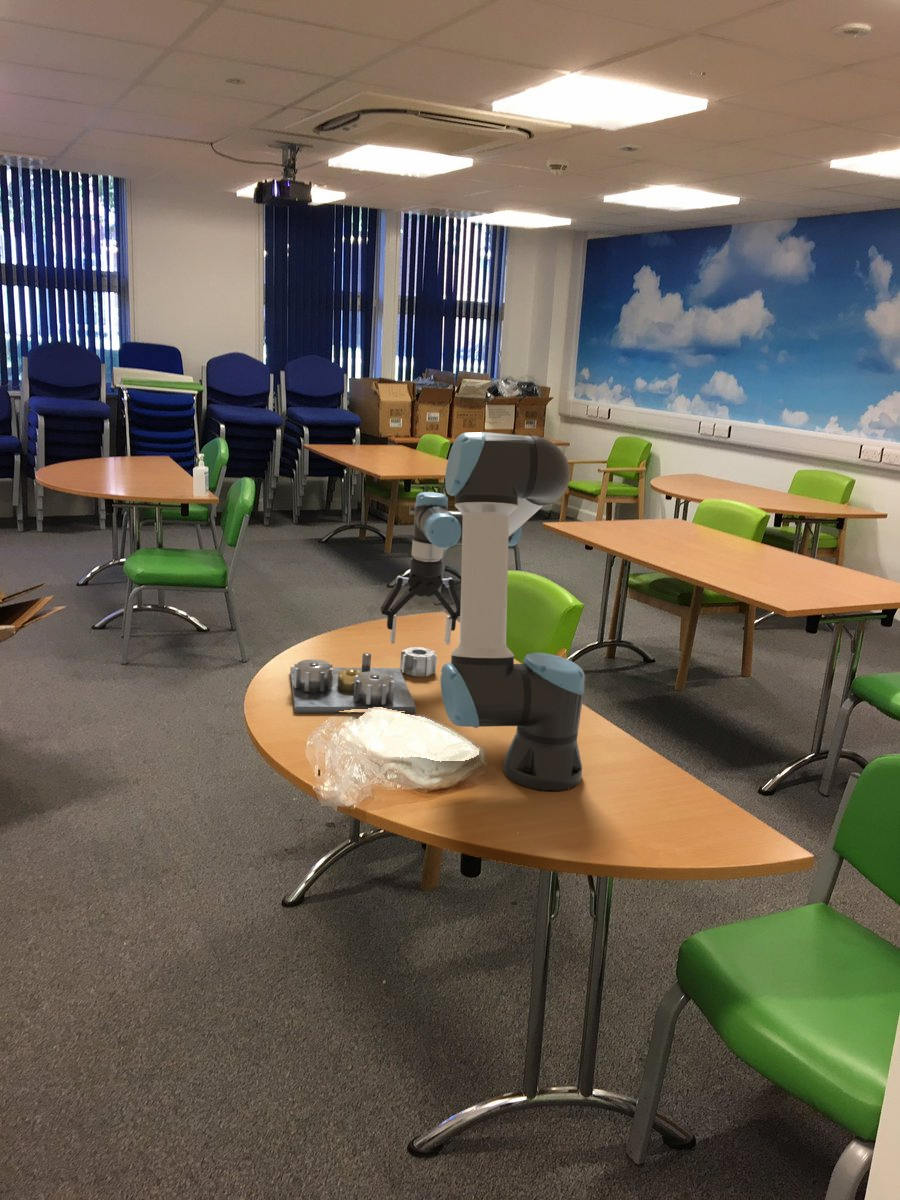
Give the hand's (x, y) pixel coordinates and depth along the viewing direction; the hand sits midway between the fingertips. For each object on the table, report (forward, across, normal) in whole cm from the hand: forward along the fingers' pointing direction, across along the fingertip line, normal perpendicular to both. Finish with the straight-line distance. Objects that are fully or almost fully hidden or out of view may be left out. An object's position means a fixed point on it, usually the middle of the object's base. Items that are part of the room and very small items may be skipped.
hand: (419, 642), depth 226 cm
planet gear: (+7, 0, 0) cm, 7 cm away
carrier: (+7, +18, +14) cm, 24 cm away
